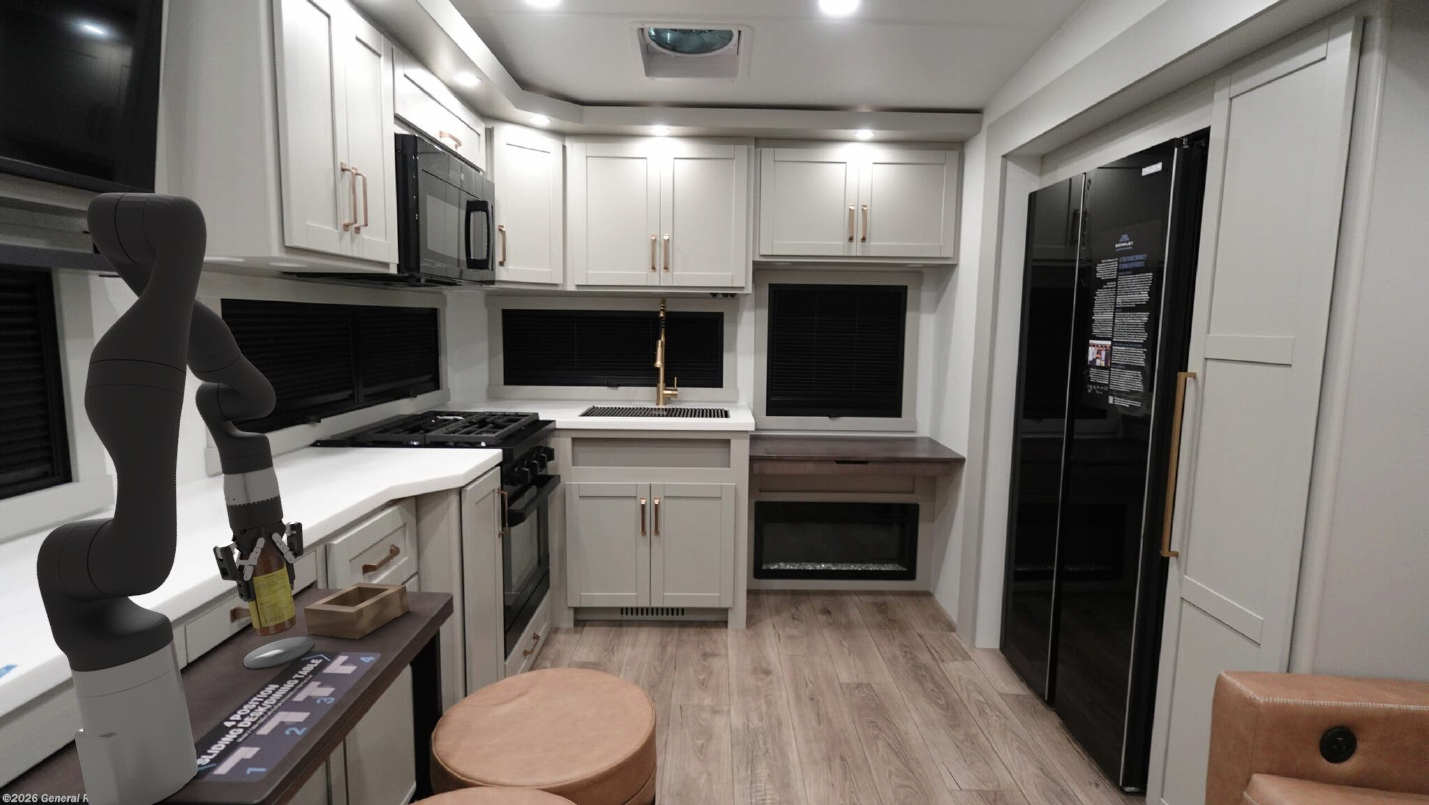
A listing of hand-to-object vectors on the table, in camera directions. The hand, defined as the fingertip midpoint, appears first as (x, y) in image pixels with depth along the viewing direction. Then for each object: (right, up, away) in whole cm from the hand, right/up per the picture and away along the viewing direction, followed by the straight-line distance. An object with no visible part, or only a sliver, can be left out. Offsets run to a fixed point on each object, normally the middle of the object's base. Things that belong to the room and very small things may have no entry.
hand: (269, 592), depth 113 cm
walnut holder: (+9, -9, +12) cm, 17 cm away
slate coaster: (+1, -11, +1) cm, 11 cm away
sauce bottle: (+1, -7, +1) cm, 7 cm away
